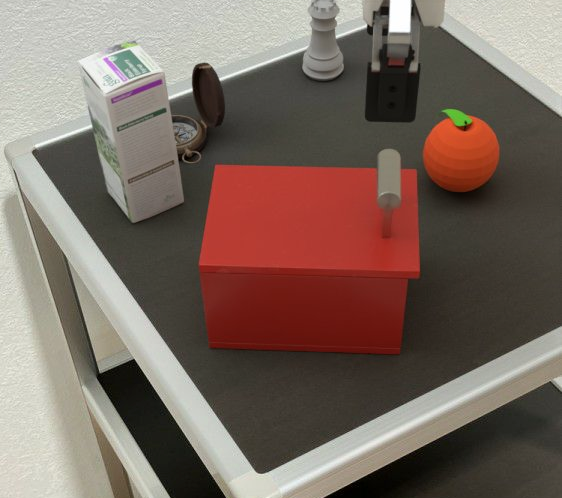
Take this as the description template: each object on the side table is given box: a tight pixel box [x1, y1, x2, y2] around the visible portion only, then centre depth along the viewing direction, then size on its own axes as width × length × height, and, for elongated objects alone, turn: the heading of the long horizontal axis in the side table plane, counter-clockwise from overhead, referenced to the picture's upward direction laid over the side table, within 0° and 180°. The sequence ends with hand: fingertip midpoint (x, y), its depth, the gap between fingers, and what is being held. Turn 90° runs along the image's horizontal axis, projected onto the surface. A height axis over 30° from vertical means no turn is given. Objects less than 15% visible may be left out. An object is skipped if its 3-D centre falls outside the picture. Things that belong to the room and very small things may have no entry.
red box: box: [199, 271, 409, 355], centre depth 79 cm, size 16×12×9 cm
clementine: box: [422, 108, 500, 193], centre depth 89 cm, size 8×7×7 cm
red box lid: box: [198, 148, 421, 280], centre depth 74 cm, size 16×12×5 cm
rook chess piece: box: [301, 0, 345, 82], centre depth 100 cm, size 4×4×8 cm
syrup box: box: [77, 40, 185, 224], centre depth 86 cm, size 6×6×14 cm
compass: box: [171, 62, 226, 165], centre depth 93 cm, size 8×8×7 cm
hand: (389, 74), depth 65 cm, fingers open, 9 cm apart
